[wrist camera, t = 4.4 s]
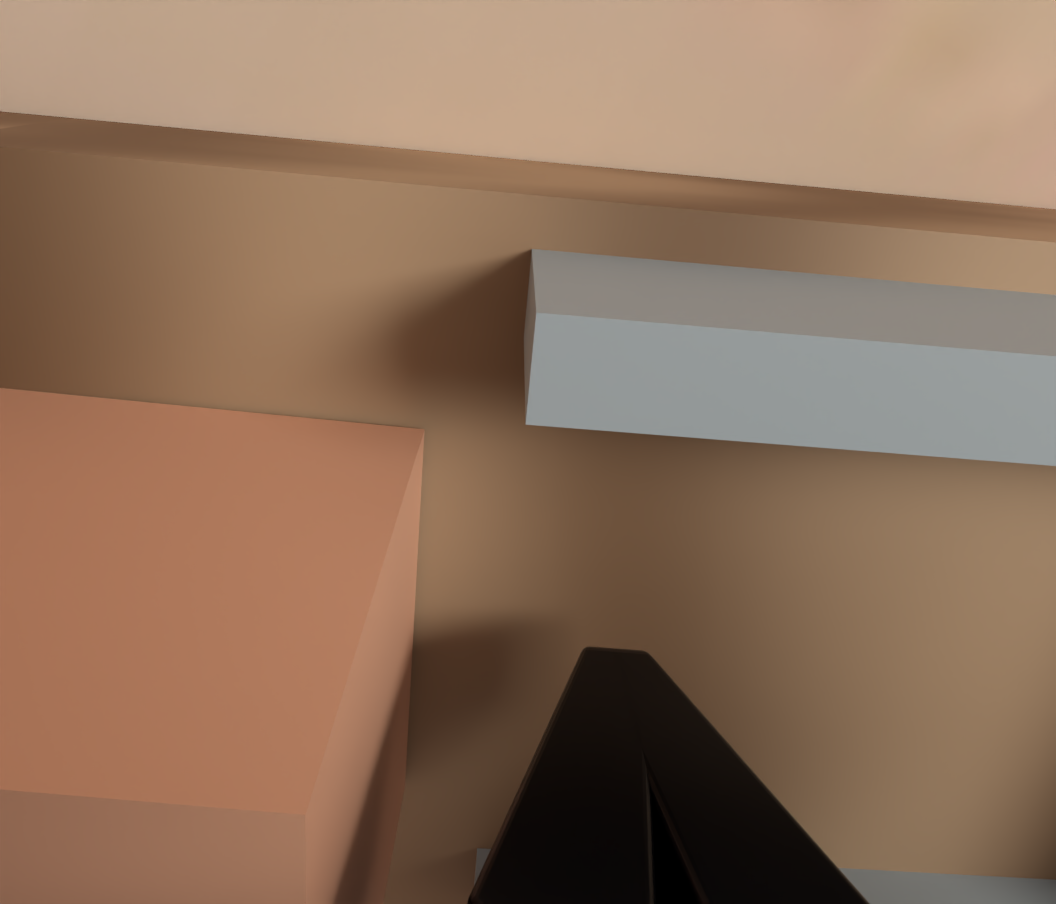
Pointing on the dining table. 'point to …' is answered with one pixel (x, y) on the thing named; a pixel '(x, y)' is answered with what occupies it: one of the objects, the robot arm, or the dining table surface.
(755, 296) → the grey u-shaped piece
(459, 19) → the dining table surface
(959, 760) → the tray
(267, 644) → the block
